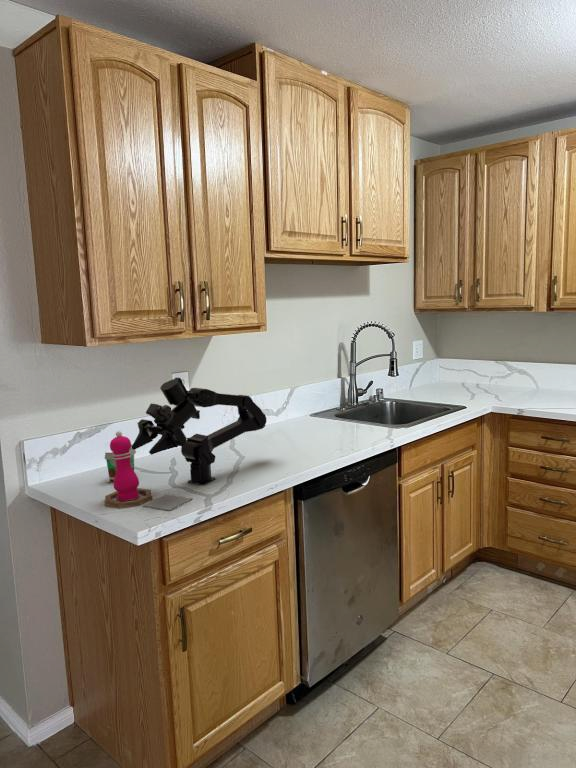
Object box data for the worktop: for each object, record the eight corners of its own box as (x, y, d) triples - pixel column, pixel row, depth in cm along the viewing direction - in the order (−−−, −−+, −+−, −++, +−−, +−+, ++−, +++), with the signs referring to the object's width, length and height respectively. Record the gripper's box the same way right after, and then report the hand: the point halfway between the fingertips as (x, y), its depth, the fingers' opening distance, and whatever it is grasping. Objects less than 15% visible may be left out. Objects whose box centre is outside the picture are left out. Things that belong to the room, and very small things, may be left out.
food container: (122, 484, 189) (120, 454, 187) (107, 483, 191) (104, 452, 190) (145, 473, 200) (143, 444, 199) (130, 472, 202) (127, 443, 201)
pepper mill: (122, 503, 169) (111, 434, 168) (111, 500, 175) (101, 433, 173) (145, 496, 173) (135, 429, 172) (134, 493, 179) (125, 428, 178)
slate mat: (165, 495, 176) (165, 494, 176) (192, 499, 172) (192, 498, 171) (142, 506, 168) (142, 505, 168) (170, 511, 163) (170, 509, 163)
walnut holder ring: (127, 490, 183) (127, 486, 183) (160, 495, 177) (160, 491, 176) (95, 504, 172) (95, 500, 171) (129, 510, 165) (129, 505, 165)
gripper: (147, 393, 183) (109, 425, 174) (184, 398, 170) (145, 433, 161) (165, 421, 188) (128, 454, 179) (201, 428, 175) (164, 464, 166)
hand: (141, 450), depth 171 cm, fingers open, 9 cm apart
